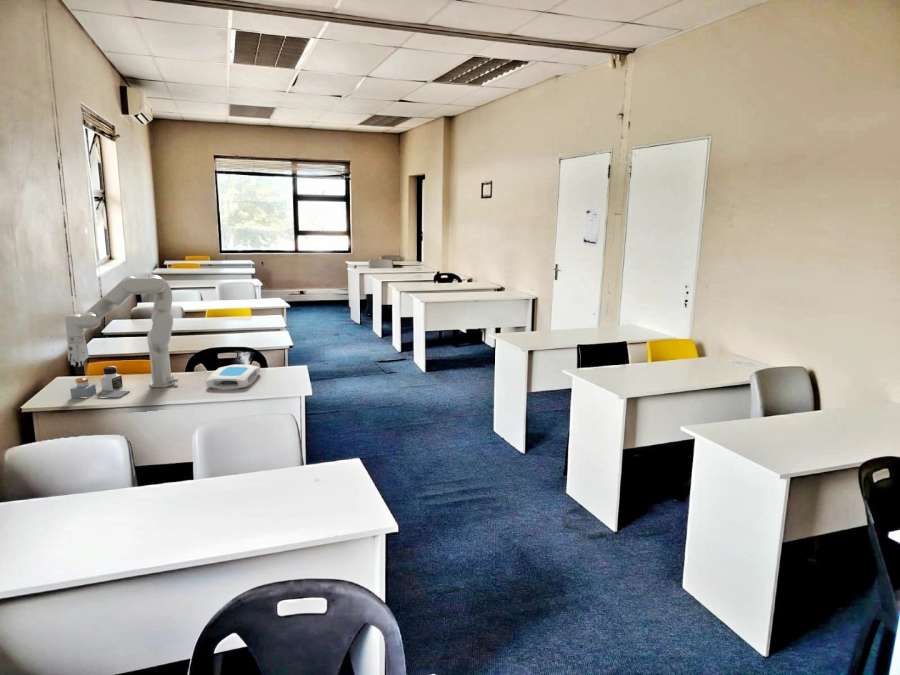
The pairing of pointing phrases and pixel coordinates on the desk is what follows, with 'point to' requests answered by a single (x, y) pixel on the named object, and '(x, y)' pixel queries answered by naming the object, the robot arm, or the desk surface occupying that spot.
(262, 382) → the desk surface
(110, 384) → the medicine bottle
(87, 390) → the release housing
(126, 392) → the mat
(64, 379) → the desk surface
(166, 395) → the desk surface
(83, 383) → the release plunger
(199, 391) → the desk surface
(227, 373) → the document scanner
